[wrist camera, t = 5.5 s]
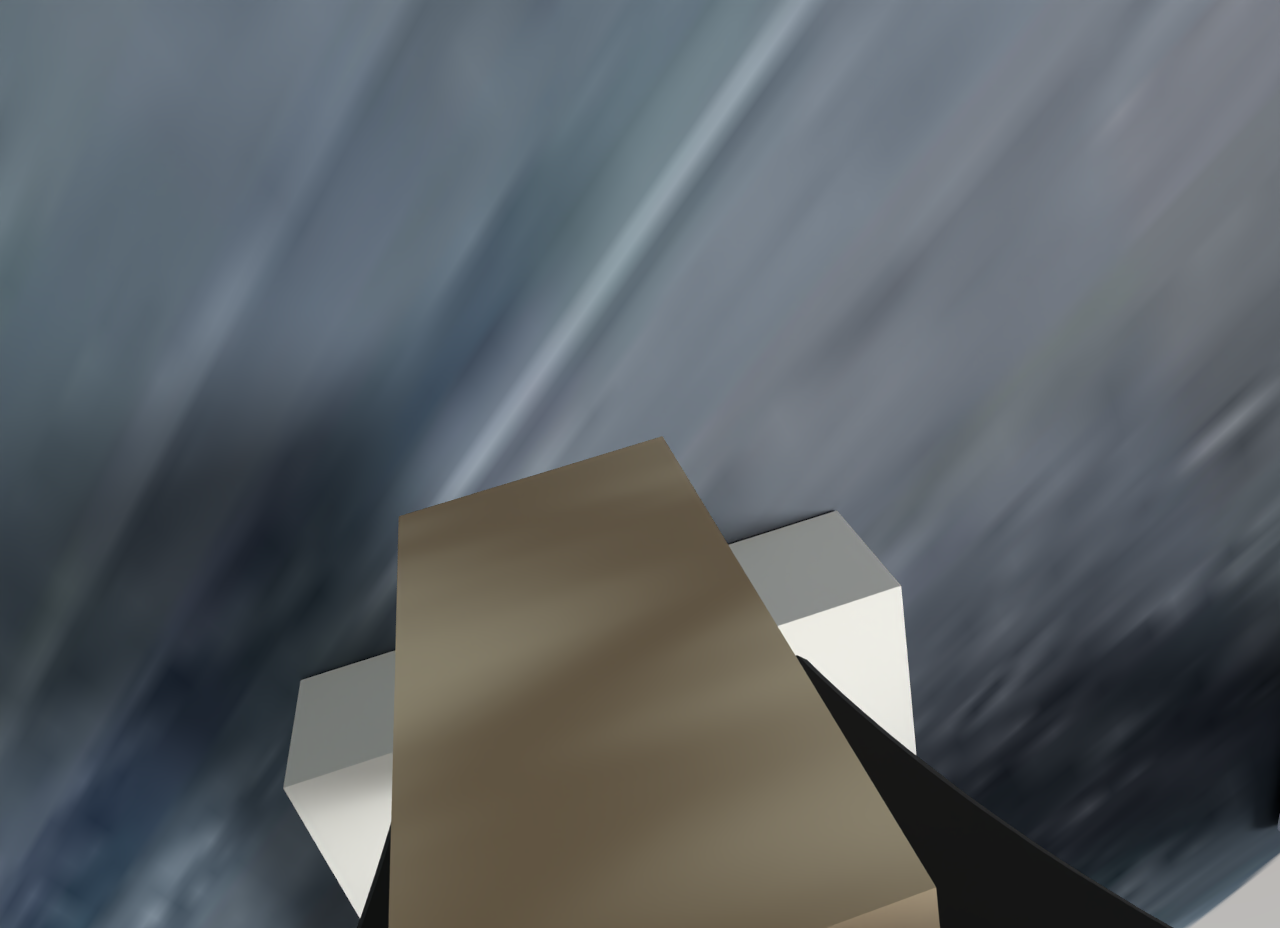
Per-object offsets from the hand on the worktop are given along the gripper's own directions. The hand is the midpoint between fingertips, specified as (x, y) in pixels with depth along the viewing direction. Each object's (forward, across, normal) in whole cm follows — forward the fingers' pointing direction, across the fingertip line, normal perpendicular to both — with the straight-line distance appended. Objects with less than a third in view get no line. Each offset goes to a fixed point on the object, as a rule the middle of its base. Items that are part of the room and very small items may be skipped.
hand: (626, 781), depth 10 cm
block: (+2, 0, 0) cm, 2 cm away
